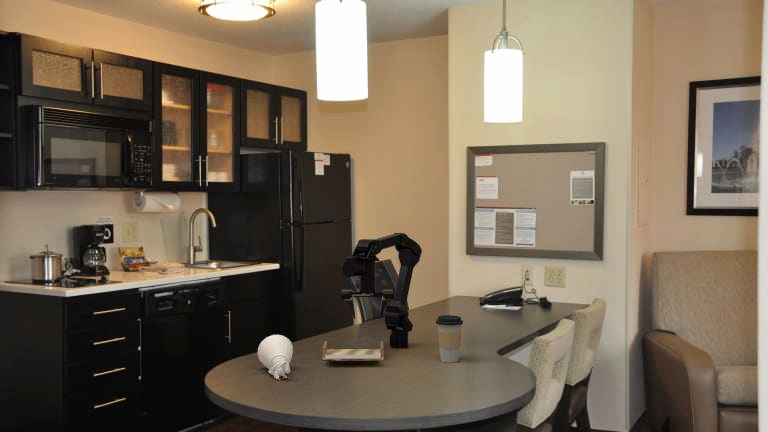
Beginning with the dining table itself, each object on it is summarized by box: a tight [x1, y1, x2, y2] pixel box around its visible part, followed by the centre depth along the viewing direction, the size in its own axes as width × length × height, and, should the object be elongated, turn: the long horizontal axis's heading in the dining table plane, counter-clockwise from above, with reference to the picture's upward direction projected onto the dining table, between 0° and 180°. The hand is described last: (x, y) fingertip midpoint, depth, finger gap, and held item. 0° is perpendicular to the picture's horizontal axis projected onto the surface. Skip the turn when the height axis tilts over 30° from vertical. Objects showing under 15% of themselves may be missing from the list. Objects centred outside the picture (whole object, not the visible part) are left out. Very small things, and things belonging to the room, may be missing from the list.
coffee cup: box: [435, 314, 464, 363], centre depth 248 cm, size 9×9×15 cm
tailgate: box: [325, 355, 380, 361], centre depth 242 cm, size 18×2×9 cm
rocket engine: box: [257, 334, 294, 380], centre depth 229 cm, size 12×12×18 cm
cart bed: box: [321, 340, 385, 361], centre depth 254 cm, size 21×12×4 cm, turn 91°
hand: (367, 318), depth 256 cm, fingers open, 9 cm apart
